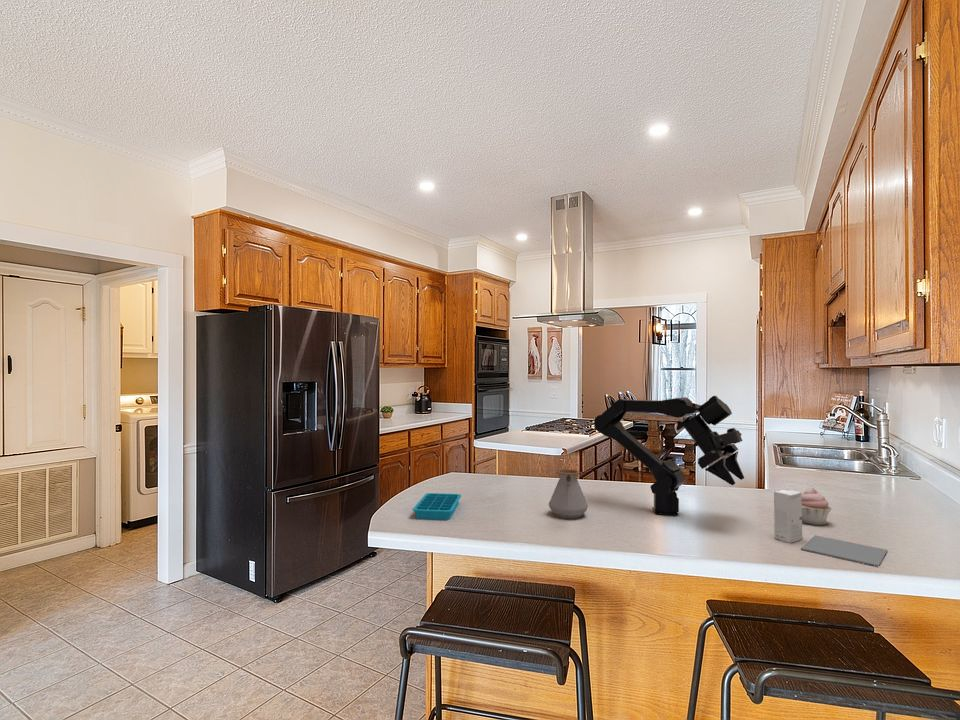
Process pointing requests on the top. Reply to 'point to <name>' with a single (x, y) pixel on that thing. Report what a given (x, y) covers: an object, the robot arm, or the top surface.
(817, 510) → the cupcake
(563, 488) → the coffee pot
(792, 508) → the skincare box
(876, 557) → the mat
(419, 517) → the ice cube tray
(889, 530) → the top surface
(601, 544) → the top surface
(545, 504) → the top surface
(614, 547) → the top surface
